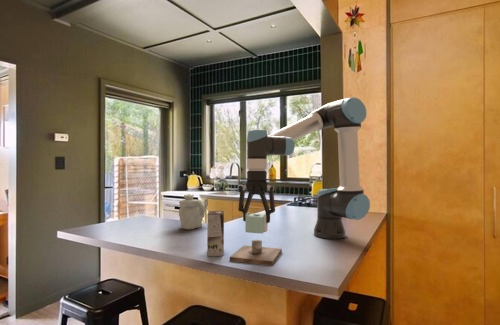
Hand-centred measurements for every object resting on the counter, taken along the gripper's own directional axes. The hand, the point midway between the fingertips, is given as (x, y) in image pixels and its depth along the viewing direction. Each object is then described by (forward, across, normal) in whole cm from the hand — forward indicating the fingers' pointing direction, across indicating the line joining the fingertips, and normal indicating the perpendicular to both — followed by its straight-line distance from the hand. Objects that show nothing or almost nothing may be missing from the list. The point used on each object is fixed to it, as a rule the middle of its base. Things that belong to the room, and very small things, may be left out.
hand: (256, 230), depth 114 cm
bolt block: (+10, 0, 0) cm, 10 cm away
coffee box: (+10, +17, 0) cm, 20 cm away
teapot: (+10, +48, -41) cm, 64 cm away
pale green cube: (0, 0, 0) cm, 0 cm away
